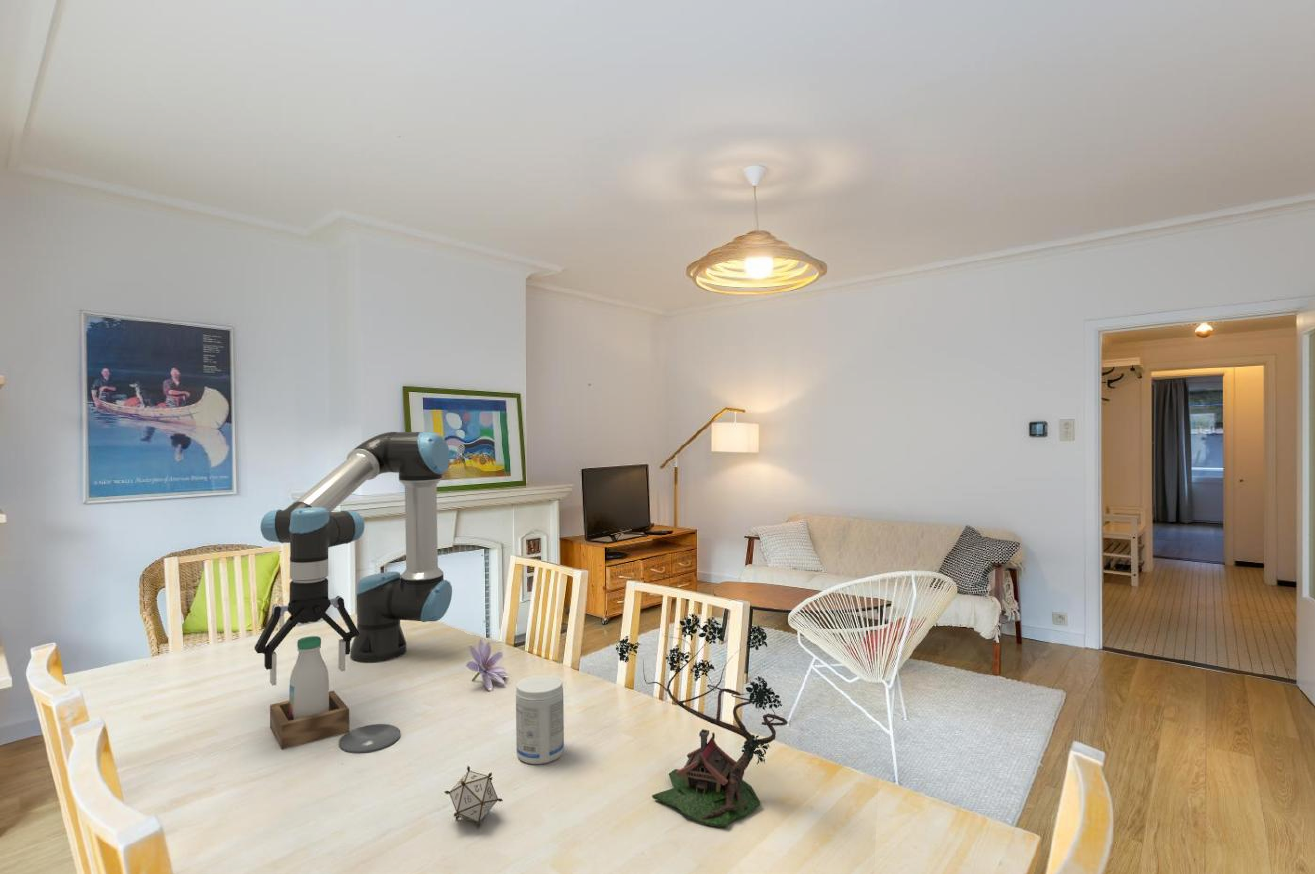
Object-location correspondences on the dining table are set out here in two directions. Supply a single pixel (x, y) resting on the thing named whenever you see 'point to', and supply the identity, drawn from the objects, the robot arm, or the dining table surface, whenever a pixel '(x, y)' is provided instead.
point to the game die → (473, 796)
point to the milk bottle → (308, 681)
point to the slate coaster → (369, 738)
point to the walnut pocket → (308, 723)
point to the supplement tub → (539, 719)
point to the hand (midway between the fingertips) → (308, 676)
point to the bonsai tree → (710, 773)
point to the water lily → (486, 664)
